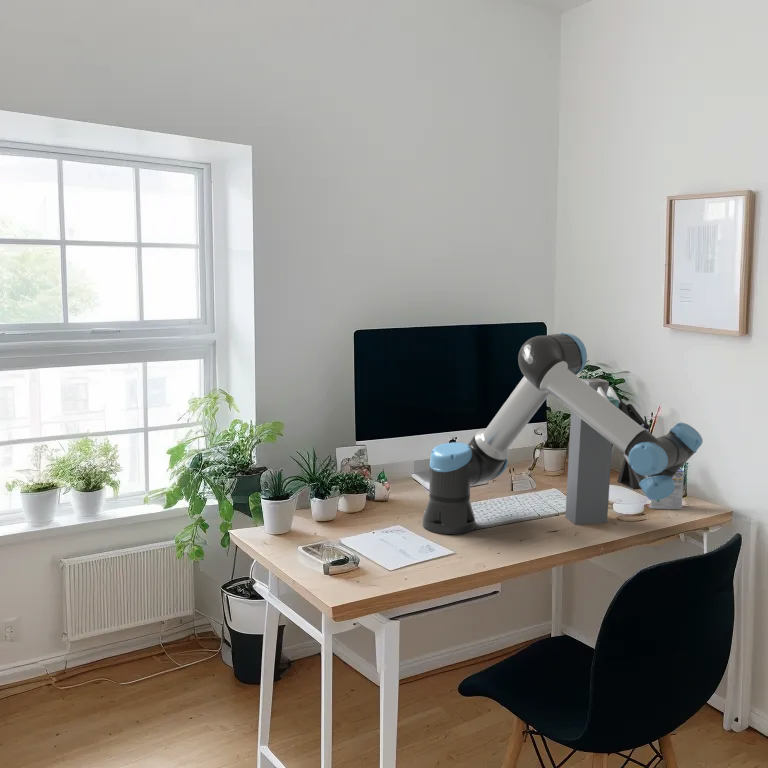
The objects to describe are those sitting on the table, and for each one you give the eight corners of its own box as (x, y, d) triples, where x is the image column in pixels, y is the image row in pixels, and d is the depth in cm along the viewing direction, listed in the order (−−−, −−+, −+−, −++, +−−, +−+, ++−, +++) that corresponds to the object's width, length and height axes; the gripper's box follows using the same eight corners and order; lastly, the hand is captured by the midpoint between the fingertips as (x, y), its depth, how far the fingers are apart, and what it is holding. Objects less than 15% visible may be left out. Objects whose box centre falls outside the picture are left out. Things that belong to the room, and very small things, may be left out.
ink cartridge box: (676, 504, 249) (679, 460, 247) (682, 509, 243) (686, 464, 241) (645, 503, 249) (648, 459, 247) (650, 509, 244) (654, 464, 241)
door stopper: (617, 482, 273) (619, 448, 271) (631, 480, 275) (633, 447, 273) (633, 489, 265) (635, 454, 263) (648, 487, 267) (650, 453, 265)
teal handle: (603, 409, 214) (605, 387, 213) (579, 399, 229) (580, 378, 228) (624, 408, 215) (625, 387, 214) (598, 398, 230) (599, 378, 229)
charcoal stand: (575, 524, 228) (581, 417, 223) (565, 516, 235) (571, 412, 230) (607, 522, 230) (613, 416, 225) (596, 515, 237) (602, 411, 232)
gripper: (604, 459, 203) (574, 401, 221) (659, 457, 206) (625, 400, 224) (612, 438, 199) (581, 380, 216) (669, 437, 201) (633, 379, 219)
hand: (603, 390), depth 220 cm, fingers closed on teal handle, 2 cm apart
